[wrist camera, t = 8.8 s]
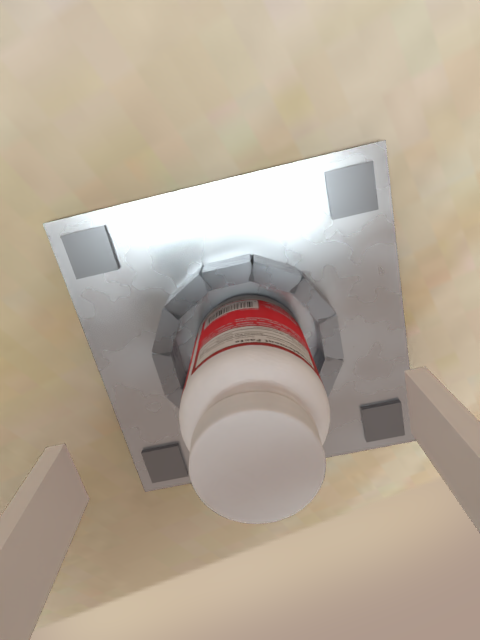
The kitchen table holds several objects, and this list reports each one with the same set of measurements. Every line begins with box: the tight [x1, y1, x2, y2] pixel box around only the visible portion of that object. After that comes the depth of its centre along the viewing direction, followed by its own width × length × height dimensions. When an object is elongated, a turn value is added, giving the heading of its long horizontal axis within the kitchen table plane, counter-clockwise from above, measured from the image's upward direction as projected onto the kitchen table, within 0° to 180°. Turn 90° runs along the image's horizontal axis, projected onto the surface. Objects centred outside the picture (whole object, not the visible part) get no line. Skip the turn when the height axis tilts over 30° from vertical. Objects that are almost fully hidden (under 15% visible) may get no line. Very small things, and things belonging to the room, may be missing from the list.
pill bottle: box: [179, 295, 330, 524], centre depth 19 cm, size 6×6×11 cm
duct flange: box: [43, 140, 416, 492], centre depth 24 cm, size 18×18×3 cm
